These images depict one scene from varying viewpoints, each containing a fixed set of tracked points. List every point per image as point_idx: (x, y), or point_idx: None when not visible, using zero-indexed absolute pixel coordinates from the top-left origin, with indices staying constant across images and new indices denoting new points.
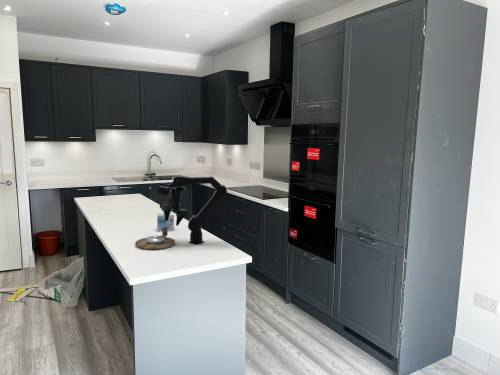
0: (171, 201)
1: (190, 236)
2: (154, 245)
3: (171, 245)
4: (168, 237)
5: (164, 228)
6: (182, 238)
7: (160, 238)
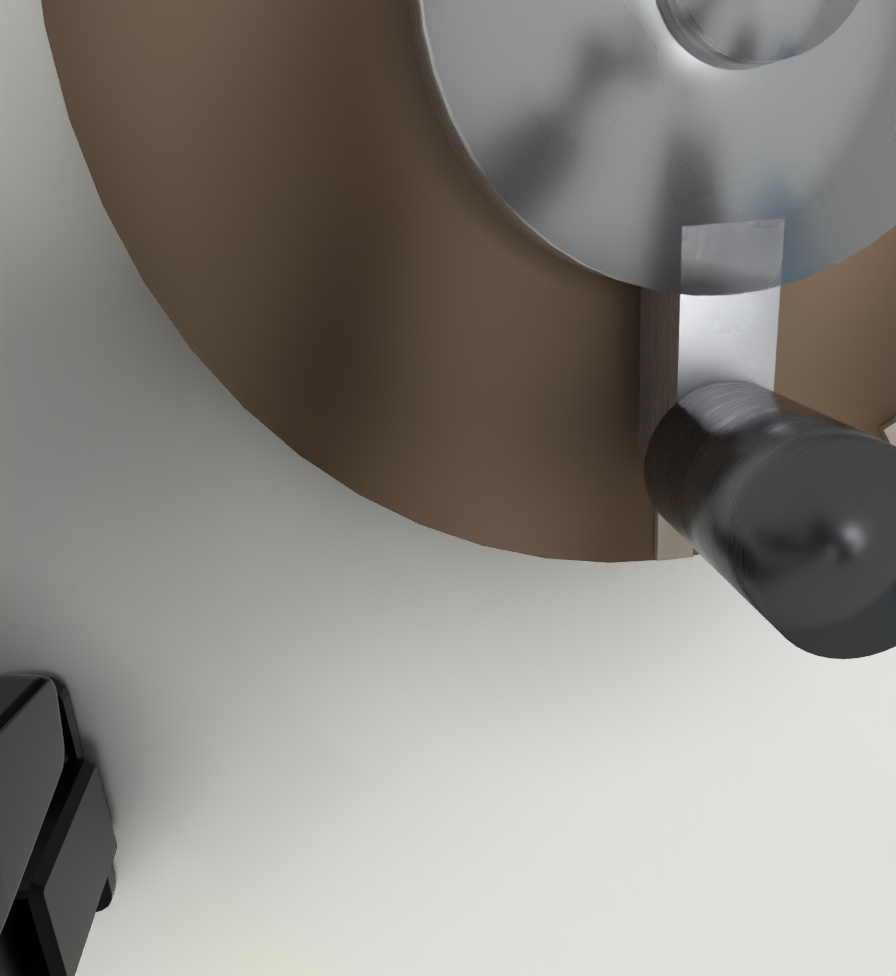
0: None
1: (40, 844)
2: None
3: (67, 90)
4: (658, 551)
5: (808, 469)
6: (469, 811)
7: (558, 39)
